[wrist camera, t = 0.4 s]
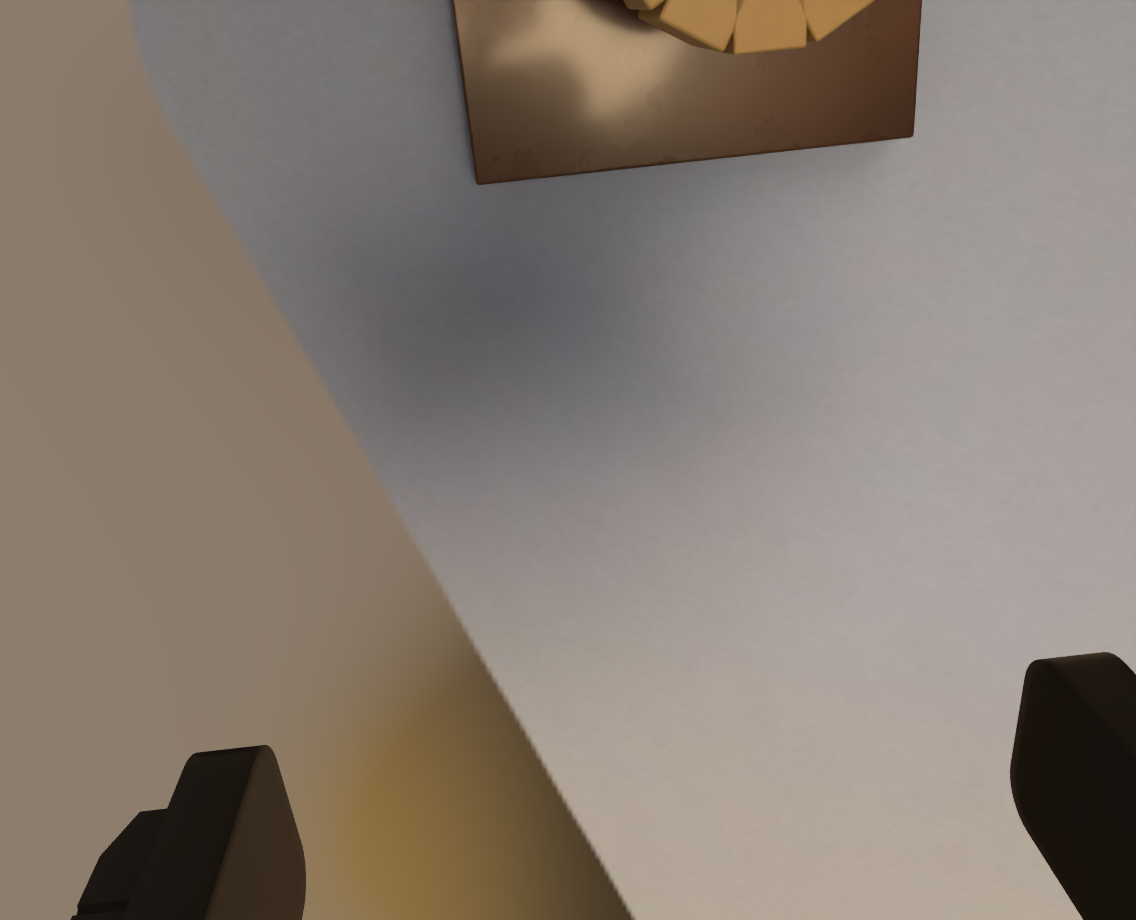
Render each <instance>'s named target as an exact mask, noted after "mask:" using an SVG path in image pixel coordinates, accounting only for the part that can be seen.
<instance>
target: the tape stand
mask: <svg viewBox="0 0 1136 920" xmlns="http://www.w3.org/2000/svg"><path fill="white" fill-rule="evenodd" d="M451 1H452V8H453V15H454V23H455V30H456V38H457V45H458V52H459V60H460V67H461V74H462V82H463V89H464V97H465V104H466V111H467V119H468V126H469V134H470V141H471V148H472V156H473V163H474V171H475V178H476V183H477V184H478V185H484V184H493V183H503V182H512V181H521V180H530V179H539V178H548V177H557V176H566V175H575V174H584V173H593V172H602V171H611V170H620V169H630V168H639V167H648V166H657V165H666V164H675V163H684V162H693V161H702V160H711V159H720V158H729V157H738V156H747V155H756V154H766V153H775V152H784V151H793V150H802V149H811V148H820V147H829V146H838V145H847V144H856V143H865V142H874V141H883V140H892V139H902V138H910V137H912V136H913V134H914V119H915V103H916V87H917V71H918V55H919V39H920V23H921V7H922V0H875V1H874V2H872V3H871V4H870V5H868V6H867V7H866V8H864V9H863V10H862V11H860V12H859V13H857V14H856V15H855V16H853V17H852V18H851V19H849V20H848V21H847V22H845V23H844V24H842V25H841V26H840V27H838V28H837V29H836V30H834V31H833V32H832V33H830V34H829V35H827V36H826V37H825V38H823V39H822V40H821V41H819V42H812V41H807V44H806V47H804V48H799V49H790V50H781V51H771V52H762V53H753V54H744V55H733V54H729V53H724V52H718V51H713V50H709V49H705V48H700V47H696V46H692V45H689V44H687V43H685V42H683V41H681V40H680V39H678V38H676V37H674V36H672V35H670V34H668V33H666V32H664V31H662V30H660V29H658V28H656V27H654V26H652V25H650V24H648V23H646V22H644V21H643V20H641V19H639V17H638V13H639V11H640V10H635V9H629V8H628V7H627V6H626V4H625V2H624V1H623V0H451Z"/></svg>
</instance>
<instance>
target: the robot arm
mask: <svg viewBox="0 0 1136 920" xmlns="http://www.w3.org/2000/svg"><path fill="white" fill-rule="evenodd" d="M1010 780H1011V788H1012V794H1013V798H1014V802H1015V805H1016V808H1017V811H1018V813H1019V816H1020V818H1021V820H1022V823H1023V825H1024V826H1025V828H1026V830H1027V832H1028V833H1029V835H1030V836H1031V838H1032V840H1033V841H1034V843H1035V844H1036V846H1037V847H1038V849H1039V851H1040V852H1041V854H1042V855H1043V857H1044V859H1045V860H1046V862H1047V863H1048V865H1049V866H1050V868H1051V870H1052V871H1053V873H1054V874H1055V876H1056V877H1057V879H1058V881H1059V882H1060V884H1061V885H1062V887H1063V888H1064V890H1065V892H1066V893H1067V895H1068V896H1069V898H1070V899H1071V901H1072V903H1073V904H1074V906H1075V907H1076V909H1077V910H1078V912H1079V914H1080V915H1081V917H1082V918H1083V920H1136V674H1135V673H1134V672H1133V671H1132V670H1131V669H1130V668H1129V667H1128V666H1127V665H1126V664H1125V663H1124V662H1123V661H1122V660H1121V659H1120V658H1119V657H1117V656H1116V655H1114V654H1111V653H1108V652H1101V653H1092V654H1083V655H1074V656H1066V657H1057V658H1048V659H1039V660H1035V661H1033V662H1032V663H1031V664H1030V665H1029V667H1028V669H1027V671H1026V675H1025V679H1024V685H1023V691H1022V698H1021V704H1020V710H1019V716H1018V722H1017V728H1016V734H1015V741H1014V747H1013V753H1012V759H1011V766H1010ZM305 869H306V868H305V859H304V852H303V847H302V844H301V840H300V837H299V833H298V830H297V827H296V823H295V820H294V817H293V813H292V809H291V806H290V803H289V800H288V796H287V793H286V790H285V786H284V783H283V779H282V776H281V772H280V769H279V766H278V762H277V759H276V757H275V754H274V752H273V750H272V749H271V748H270V747H269V746H268V745H261V746H252V747H243V748H234V749H225V750H216V751H208V752H200V753H195V754H193V755H192V756H191V757H190V758H189V759H188V761H187V762H186V764H185V766H184V769H183V771H182V773H181V776H180V778H179V781H178V784H177V786H176V788H175V791H174V793H173V796H172V798H171V801H170V803H169V806H168V808H167V809H160V810H151V811H142V812H139V814H138V815H137V816H136V817H135V818H134V819H133V820H132V821H131V822H130V824H129V825H128V826H127V827H126V828H125V829H124V830H123V831H122V833H121V834H120V835H119V836H118V837H117V838H116V839H115V840H114V841H113V842H112V843H111V845H110V846H109V847H108V848H107V849H106V850H105V851H104V852H103V853H102V855H101V856H100V857H99V860H98V862H97V864H96V866H95V868H94V870H93V873H92V875H91V877H90V879H89V881H88V884H87V886H86V888H85V890H84V892H83V894H82V897H81V899H80V901H79V903H78V905H77V907H78V912H77V915H75V916H72V918H71V920H302V915H303V910H304V903H305V893H306V870H305Z"/></svg>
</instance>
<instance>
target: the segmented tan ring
mask: <svg viewBox="0 0 1136 920" xmlns="http://www.w3.org/2000/svg"><path fill="white" fill-rule="evenodd" d="M623 1H624V2H625V4H626V6H627V7H628V8H629V9H635V10H640V11H639V13H638V17H639V19H641V20H643V21H644V22H646V23H648V24H650V25H652V26H654V27H656V28H658V29H660V30H662V31H664V32H666V33H668V34H670V35H672V36H674V37H676V38H678V39H680V40H681V41H683V42H685V43H687V44H689V45H692V46H696V47H700V48H705V49H709V50H713V51H718V52H724V53H729V54H733V55H744V54H753V53H762V52H771V51H781V50H790V49H799V48H804V47H806V44H807V41H812V42H819V41H821V40H822V39H823V38H825V37H826V36H827V35H829V34H830V33H832V32H833V31H834V30H836V29H837V28H838V27H840V26H841V25H842V24H844V23H845V22H847V21H848V20H849V19H851V18H852V17H853V16H855V15H856V14H857V13H859V12H860V11H862V10H863V9H864V8H866V7H867V6H868V5H870V4H871V3H872V2H874V1H875V0H623Z"/></svg>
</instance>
